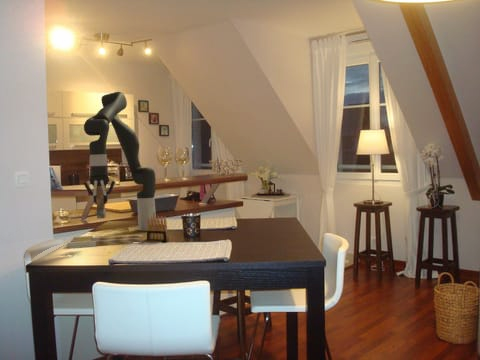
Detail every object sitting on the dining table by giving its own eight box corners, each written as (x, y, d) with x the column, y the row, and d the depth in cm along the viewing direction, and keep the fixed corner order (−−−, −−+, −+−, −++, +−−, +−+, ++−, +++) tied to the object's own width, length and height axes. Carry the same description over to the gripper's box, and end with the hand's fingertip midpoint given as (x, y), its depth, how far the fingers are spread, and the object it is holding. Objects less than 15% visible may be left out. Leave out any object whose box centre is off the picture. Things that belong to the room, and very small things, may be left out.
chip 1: (84, 245, 218) (83, 236, 218) (82, 246, 214) (82, 237, 214) (74, 245, 218) (74, 236, 217) (73, 247, 214) (72, 238, 213)
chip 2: (93, 244, 219) (92, 235, 218) (91, 246, 215) (91, 237, 214) (84, 245, 218) (83, 236, 218) (82, 246, 214) (81, 237, 214)
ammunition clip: (168, 241, 220) (167, 215, 219) (166, 242, 218) (165, 216, 218) (149, 240, 224) (147, 215, 223) (146, 241, 222) (145, 215, 222)
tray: (99, 243, 222) (98, 236, 222) (96, 247, 212) (95, 241, 212) (72, 245, 221) (72, 238, 220) (67, 249, 210) (67, 243, 210)
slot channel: (143, 240, 226) (142, 234, 226) (141, 244, 214) (141, 238, 214) (99, 243, 223) (99, 237, 223) (95, 248, 211) (95, 241, 211)
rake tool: (105, 216, 214) (104, 185, 213) (104, 218, 209) (102, 186, 208) (98, 217, 213) (97, 186, 213) (96, 218, 208) (95, 186, 208)
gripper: (116, 164, 214) (118, 202, 215) (83, 165, 213) (86, 203, 214) (113, 164, 207) (115, 204, 208) (80, 165, 205) (82, 205, 206)
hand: (100, 203), depth 211 cm, fingers closed on rake tool, 3 cm apart
